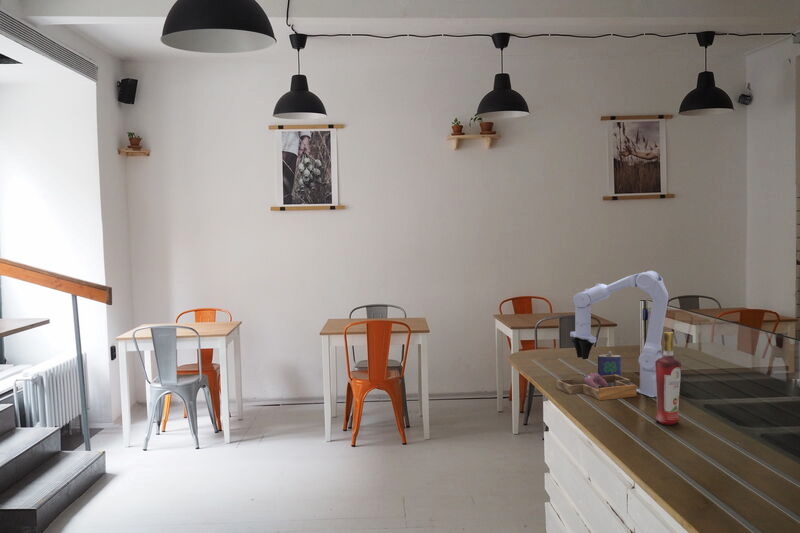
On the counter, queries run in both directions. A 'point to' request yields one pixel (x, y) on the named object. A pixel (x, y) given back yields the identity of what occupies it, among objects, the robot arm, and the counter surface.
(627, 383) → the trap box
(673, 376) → the liquor
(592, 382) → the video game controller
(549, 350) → the counter surface
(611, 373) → the flask
